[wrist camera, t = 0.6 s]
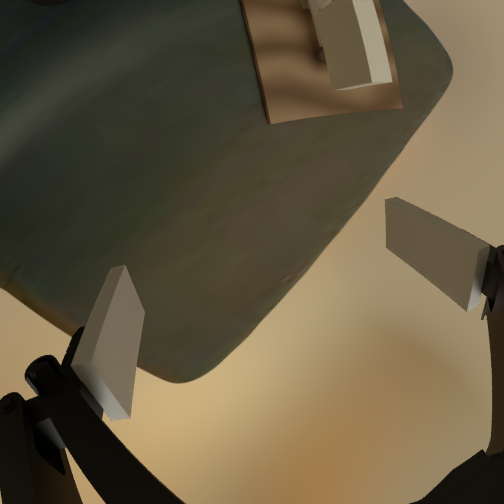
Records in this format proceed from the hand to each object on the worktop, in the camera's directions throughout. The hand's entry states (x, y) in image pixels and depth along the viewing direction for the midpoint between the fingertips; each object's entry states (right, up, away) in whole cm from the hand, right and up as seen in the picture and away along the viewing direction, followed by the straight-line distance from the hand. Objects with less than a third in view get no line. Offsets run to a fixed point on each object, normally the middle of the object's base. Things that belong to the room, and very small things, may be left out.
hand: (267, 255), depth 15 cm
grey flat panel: (+8, +27, +17) cm, 33 cm away
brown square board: (+9, +27, +20) cm, 35 cm away
